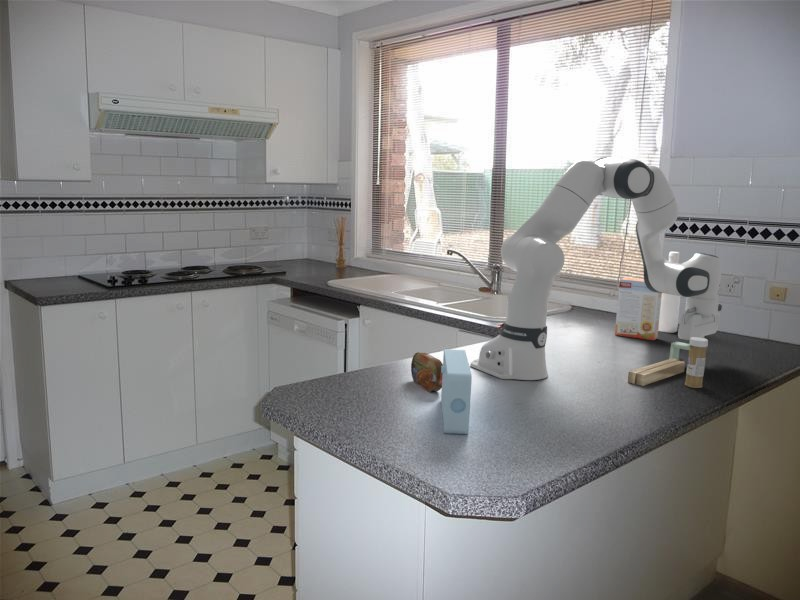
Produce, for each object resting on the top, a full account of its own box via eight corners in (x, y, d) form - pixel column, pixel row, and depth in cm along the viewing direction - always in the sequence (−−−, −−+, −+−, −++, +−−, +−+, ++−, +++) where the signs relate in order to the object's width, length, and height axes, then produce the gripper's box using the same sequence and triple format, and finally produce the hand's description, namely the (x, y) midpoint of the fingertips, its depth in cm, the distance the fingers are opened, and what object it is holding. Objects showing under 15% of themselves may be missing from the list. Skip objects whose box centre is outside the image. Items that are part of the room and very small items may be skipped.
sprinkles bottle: (681, 383, 191) (686, 336, 189) (697, 383, 192) (702, 336, 189) (689, 388, 187) (695, 340, 184) (705, 388, 187) (711, 340, 185)
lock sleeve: (668, 365, 210) (671, 343, 209) (674, 363, 213) (677, 341, 212) (696, 372, 204) (698, 349, 203) (701, 369, 207) (704, 347, 206)
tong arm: (636, 384, 189) (637, 373, 188) (677, 370, 205) (678, 360, 205) (643, 385, 187) (644, 375, 187) (684, 371, 204) (685, 361, 203)
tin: (409, 379, 185) (410, 348, 183) (420, 378, 186) (421, 348, 185) (434, 396, 171) (435, 363, 170) (445, 395, 172) (447, 362, 171)
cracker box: (657, 338, 248) (664, 281, 245) (654, 341, 243) (660, 282, 240) (618, 332, 256) (624, 276, 252) (614, 335, 250) (619, 278, 247)
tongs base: (627, 382, 190) (628, 371, 190) (673, 367, 209) (674, 357, 208) (637, 384, 188) (638, 374, 188) (682, 369, 206) (683, 359, 206)
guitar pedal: (437, 400, 168) (440, 347, 166) (461, 401, 168) (464, 348, 166) (440, 435, 145) (443, 374, 143) (468, 436, 145) (471, 375, 143)
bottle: (656, 331, 260) (664, 252, 255) (653, 327, 267) (661, 250, 262) (678, 333, 258) (687, 253, 253) (675, 329, 266) (684, 251, 261)
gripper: (696, 311, 201) (690, 357, 203) (725, 305, 214) (719, 348, 217) (675, 307, 205) (670, 352, 207) (705, 301, 219) (699, 344, 221)
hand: (695, 350), depth 212 cm, fingers closed
